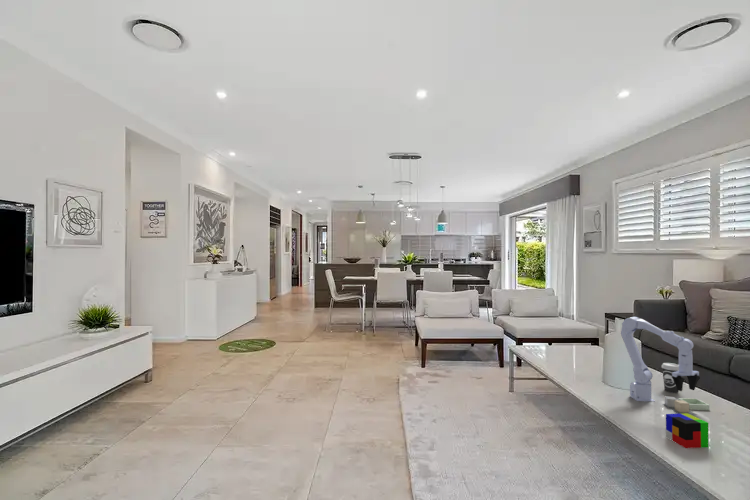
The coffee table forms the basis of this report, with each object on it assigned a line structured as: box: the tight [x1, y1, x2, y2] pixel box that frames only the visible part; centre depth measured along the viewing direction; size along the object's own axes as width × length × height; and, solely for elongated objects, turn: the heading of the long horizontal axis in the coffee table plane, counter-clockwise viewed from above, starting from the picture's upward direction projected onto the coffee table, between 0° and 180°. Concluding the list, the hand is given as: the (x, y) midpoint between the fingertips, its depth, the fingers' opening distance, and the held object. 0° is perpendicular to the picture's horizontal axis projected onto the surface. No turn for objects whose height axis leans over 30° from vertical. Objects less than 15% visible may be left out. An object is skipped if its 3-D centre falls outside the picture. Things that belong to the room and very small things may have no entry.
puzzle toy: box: [665, 413, 709, 449], centre depth 172 cm, size 10×10×10 cm
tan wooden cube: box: [675, 399, 690, 413], centre depth 205 cm, size 4×4×4 cm
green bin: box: [677, 397, 710, 411], centre depth 211 cm, size 9×9×3 cm
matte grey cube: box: [664, 395, 678, 408], centre depth 212 cm, size 4×4×4 cm
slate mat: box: [662, 403, 697, 416], centre depth 207 cm, size 8×14×1 cm, turn 175°
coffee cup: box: [660, 362, 680, 394], centre depth 237 cm, size 10×10×15 cm
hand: (685, 390), depth 209 cm, fingers open, 7 cm apart
